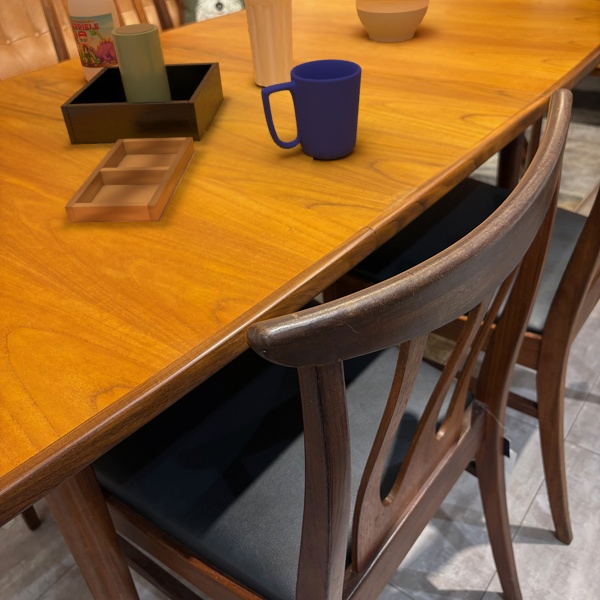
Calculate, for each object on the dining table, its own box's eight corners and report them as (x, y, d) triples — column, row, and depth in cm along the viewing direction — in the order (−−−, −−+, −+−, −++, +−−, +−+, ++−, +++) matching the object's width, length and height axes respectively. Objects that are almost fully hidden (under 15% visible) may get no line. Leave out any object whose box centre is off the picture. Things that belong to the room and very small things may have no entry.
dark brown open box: (72, 147, 82) (59, 106, 79) (113, 103, 96) (104, 66, 93) (200, 144, 80) (193, 102, 77) (223, 99, 94) (218, 62, 91)
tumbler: (125, 126, 86) (104, 35, 78) (138, 111, 91) (119, 24, 83) (168, 125, 85) (151, 33, 78) (179, 109, 90) (163, 22, 83)
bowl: (450, 35, 117) (454, -15, 112) (386, 52, 110) (388, 0, 105) (394, 22, 128) (396, -24, 123) (333, 36, 121) (332, -11, 116)
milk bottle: (96, 71, 111) (65, -55, 99) (137, 71, 110) (110, -57, 98) (78, 85, 105) (42, -48, 93) (121, 85, 103) (90, -50, 92)
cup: (259, 94, 95) (249, -7, 87) (243, 80, 102) (233, -15, 93) (307, 85, 98) (302, -14, 89) (289, 72, 104) (283, -22, 95)
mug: (257, 153, 77) (248, 72, 71) (343, 134, 80) (341, 55, 75) (281, 178, 71) (274, 91, 65) (373, 156, 74) (374, 72, 68)
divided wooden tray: (68, 226, 64) (62, 206, 63) (121, 156, 79) (116, 139, 77) (161, 224, 63) (156, 205, 62) (197, 154, 78) (194, 137, 76)
